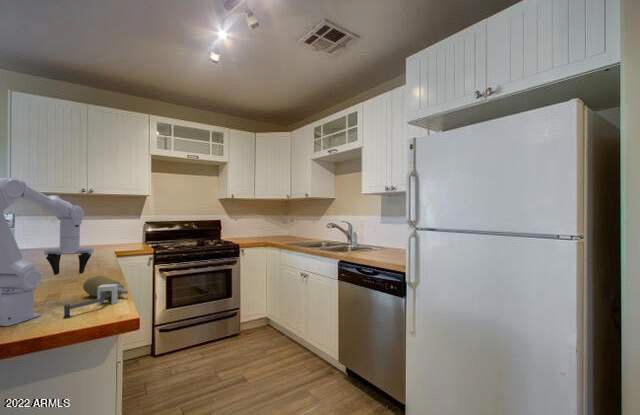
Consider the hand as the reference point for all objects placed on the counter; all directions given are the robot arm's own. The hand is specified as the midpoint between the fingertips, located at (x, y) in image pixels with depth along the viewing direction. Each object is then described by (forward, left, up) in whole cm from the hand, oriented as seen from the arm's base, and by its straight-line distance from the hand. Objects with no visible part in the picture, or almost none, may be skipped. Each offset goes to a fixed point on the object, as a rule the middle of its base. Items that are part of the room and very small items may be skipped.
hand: (69, 273), depth 113 cm
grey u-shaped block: (+2, -15, -10) cm, 18 cm away
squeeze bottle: (+9, 0, -6) cm, 11 cm away
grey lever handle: (-5, -16, -10) cm, 19 cm away
